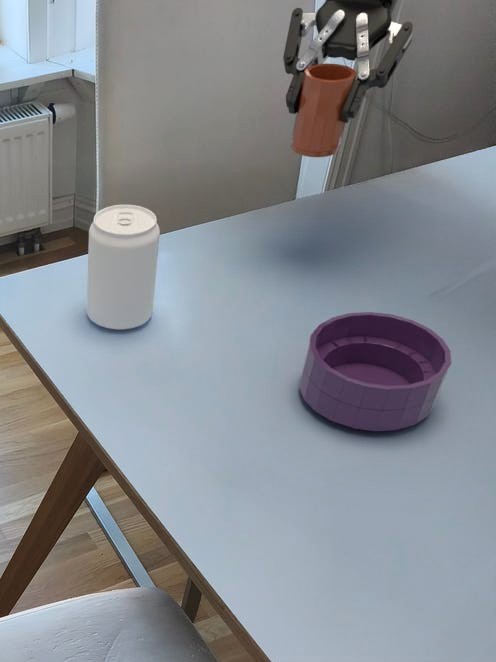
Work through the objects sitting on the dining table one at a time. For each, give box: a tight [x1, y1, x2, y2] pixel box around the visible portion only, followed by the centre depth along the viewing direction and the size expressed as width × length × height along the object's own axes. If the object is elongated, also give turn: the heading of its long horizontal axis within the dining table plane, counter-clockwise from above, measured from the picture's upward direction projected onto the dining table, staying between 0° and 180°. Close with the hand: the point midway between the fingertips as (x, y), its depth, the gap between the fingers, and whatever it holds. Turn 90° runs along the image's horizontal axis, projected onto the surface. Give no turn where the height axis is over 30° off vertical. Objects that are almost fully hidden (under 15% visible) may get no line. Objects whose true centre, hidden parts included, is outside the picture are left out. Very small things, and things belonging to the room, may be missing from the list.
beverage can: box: [86, 204, 161, 330], centre depth 104 cm, size 8×8×12 cm
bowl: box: [298, 311, 452, 432], centre depth 95 cm, size 14×14×6 cm
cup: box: [290, 63, 357, 158], centre depth 102 cm, size 6×6×8 cm
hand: (318, 114), depth 101 cm, fingers closed on cup, 5 cm apart
